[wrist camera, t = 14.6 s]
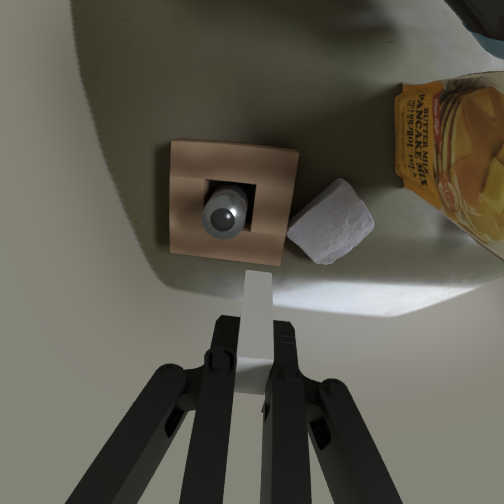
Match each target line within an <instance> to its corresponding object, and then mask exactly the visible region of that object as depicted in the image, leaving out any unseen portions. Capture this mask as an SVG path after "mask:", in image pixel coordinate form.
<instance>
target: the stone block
mask: <svg viewBox="0 0 504 504" xmlns="http://www.w3.org/2000/svg"><path fill="white" fill-rule="evenodd" d="M373 229H374V221H373V218H372V216H371V214H370V213H369V210H368V209H367V207H366V205H365V203H364V202H363V201H362V200H361V199H360V198H359V197H358V196H357V194H356V192H355V191H354V189H353V187H352V186H351V185H350V184H349V183H348V182H346V181H345V180H344V179H342V178H338V179H336V180H335V181H333V182H332V183H331V184H330V185H329V186H328V187H327V188H325V189H324V190H323V191H322V192H321V193H320V194H319V195H317V196H316V197H315V198H314V199H313V200H312V201H310V202H309V203H308V204H307V205H306V206H305V207H303V208H302V209H301V210H300V211H299V212H298V213H297V214H295V215H294V216H293V217H292V218H291V219H290V220H288V225H287V231H286V236H287V237H288V238H289V239H290V240H292V241H293V242H294V243H295V244H297V245H298V246H299V247H300V248H301V249H302V250H303V251H304V252H305V253H306V254H307V255H308V256H309V257H310V258H311V259H312V260H313V261H314V262H316V263H317V264H322V263H323V264H324V265H326V264H331V263H333V262H334V261H335V260H336V259H337V258H339V257H342V256H343V255H345V254H346V253H348V252H349V251H350V250H351V249H352V248H353V247H355V246H356V245H358V244H359V243H360V242H361V241H362V239H363V238H364V237H366V236H367V235H368V234H369V233H370V232H371V231H372V230H373Z"/></svg>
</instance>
